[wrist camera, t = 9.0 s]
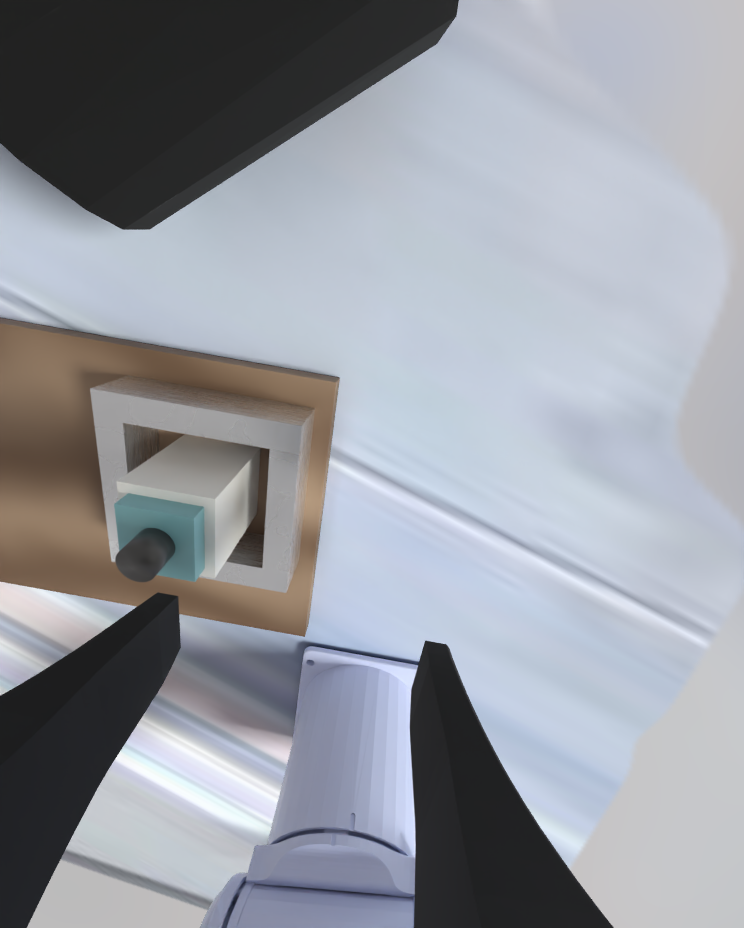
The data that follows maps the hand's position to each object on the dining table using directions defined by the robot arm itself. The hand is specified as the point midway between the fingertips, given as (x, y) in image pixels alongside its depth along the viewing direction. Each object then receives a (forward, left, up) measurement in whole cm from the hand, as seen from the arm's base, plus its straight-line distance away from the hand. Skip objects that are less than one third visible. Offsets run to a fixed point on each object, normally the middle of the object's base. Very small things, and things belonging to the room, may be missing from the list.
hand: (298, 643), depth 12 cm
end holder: (0, +6, -9) cm, 11 cm away
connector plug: (0, +6, -9) cm, 11 cm away
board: (-2, +11, -10) cm, 15 cm away
